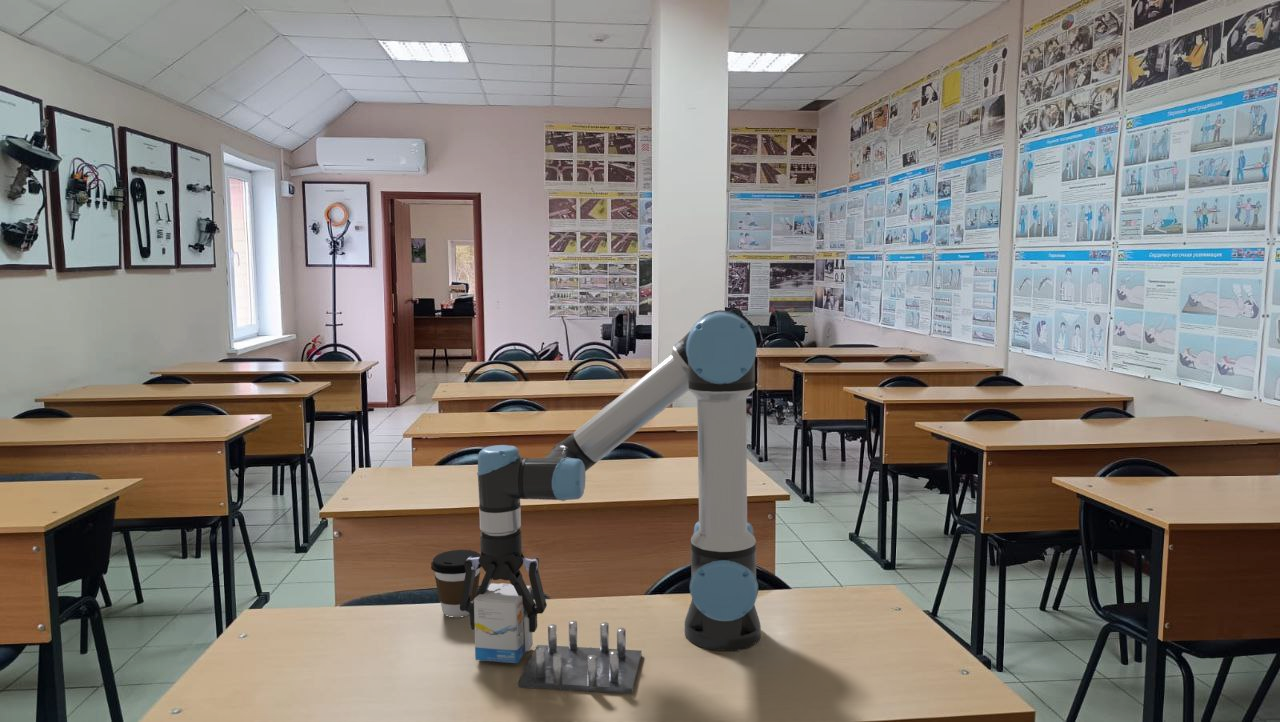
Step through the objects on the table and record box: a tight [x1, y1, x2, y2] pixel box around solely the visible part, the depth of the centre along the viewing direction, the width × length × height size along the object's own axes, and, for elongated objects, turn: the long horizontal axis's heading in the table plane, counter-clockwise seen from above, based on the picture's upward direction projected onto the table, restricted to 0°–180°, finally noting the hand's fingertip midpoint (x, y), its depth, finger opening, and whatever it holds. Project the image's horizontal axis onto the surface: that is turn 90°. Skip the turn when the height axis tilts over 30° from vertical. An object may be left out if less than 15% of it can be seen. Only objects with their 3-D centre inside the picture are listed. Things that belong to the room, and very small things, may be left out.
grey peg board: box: [517, 620, 642, 695], centre depth 141 cm, size 20×15×6 cm
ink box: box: [474, 582, 532, 664], centre depth 147 cm, size 9×8×12 cm
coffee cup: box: [430, 549, 482, 617], centre depth 166 cm, size 11×11×12 cm
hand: (504, 646), depth 147 cm, fingers closed on ink box, 9 cm apart
